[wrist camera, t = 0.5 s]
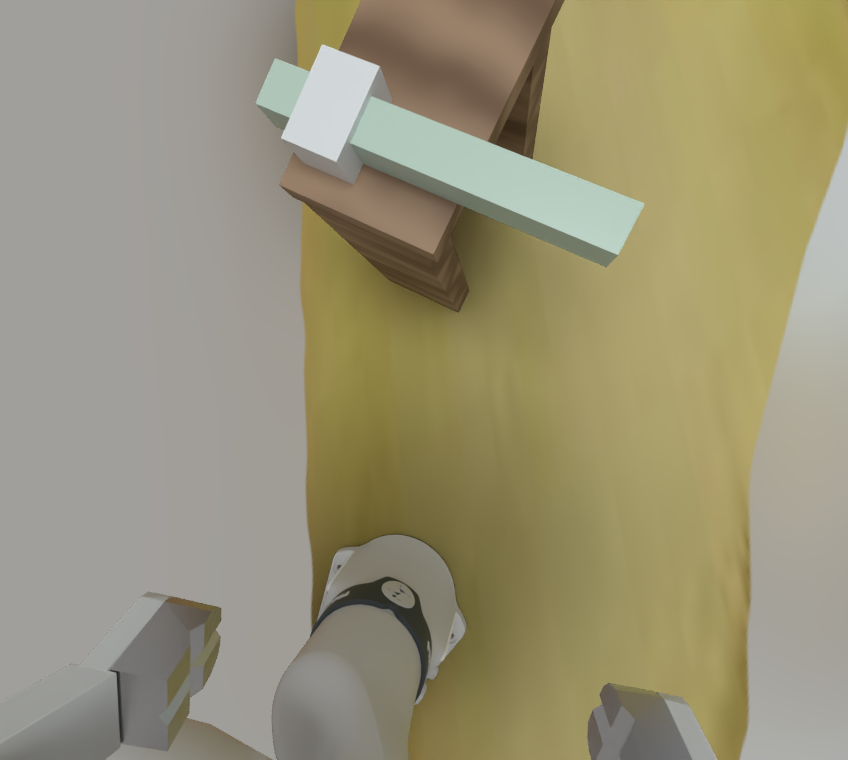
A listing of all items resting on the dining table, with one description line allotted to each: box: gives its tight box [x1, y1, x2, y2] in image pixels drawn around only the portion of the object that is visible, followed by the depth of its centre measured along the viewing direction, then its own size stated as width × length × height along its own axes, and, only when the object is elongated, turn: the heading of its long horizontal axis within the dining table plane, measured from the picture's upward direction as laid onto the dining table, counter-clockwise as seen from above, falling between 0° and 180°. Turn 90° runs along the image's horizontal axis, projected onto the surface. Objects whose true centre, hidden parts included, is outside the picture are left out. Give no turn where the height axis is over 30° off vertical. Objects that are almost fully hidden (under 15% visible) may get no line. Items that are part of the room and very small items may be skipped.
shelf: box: [279, 0, 564, 312], centre depth 40 cm, size 20×12×26 cm, turn 154°
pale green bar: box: [256, 44, 644, 267], centre depth 26 cm, size 6×24×3 cm, turn 64°
